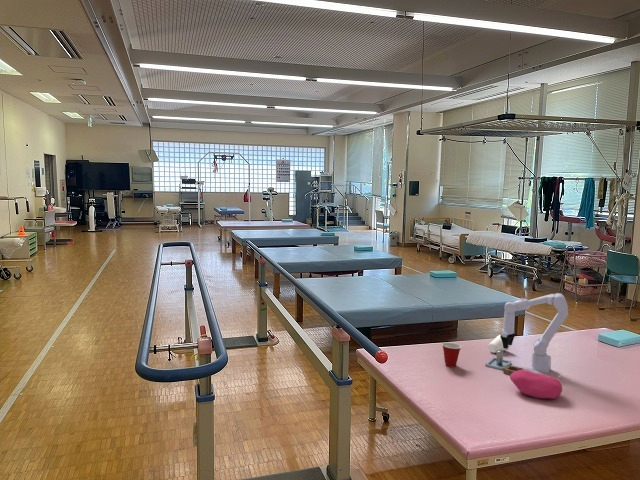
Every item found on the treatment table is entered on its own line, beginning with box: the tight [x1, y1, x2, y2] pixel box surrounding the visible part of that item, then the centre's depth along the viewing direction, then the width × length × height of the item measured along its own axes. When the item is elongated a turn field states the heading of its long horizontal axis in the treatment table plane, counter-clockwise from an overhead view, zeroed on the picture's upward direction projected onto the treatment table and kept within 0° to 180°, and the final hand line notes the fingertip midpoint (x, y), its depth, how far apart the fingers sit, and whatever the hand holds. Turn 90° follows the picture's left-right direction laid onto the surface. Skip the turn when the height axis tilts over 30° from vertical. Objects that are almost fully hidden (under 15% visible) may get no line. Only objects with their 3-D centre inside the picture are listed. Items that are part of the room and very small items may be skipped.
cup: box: [487, 334, 511, 354], centre depth 286 cm, size 10×10×11 cm
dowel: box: [495, 350, 504, 366], centre depth 263 cm, size 3×3×8 cm
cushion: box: [509, 369, 563, 400], centre depth 227 cm, size 23×19×10 cm
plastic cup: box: [441, 342, 462, 368], centre depth 263 cm, size 11×11×12 cm
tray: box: [485, 357, 512, 371], centre depth 263 cm, size 10×14×2 cm
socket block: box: [502, 364, 524, 376], centre depth 252 cm, size 8×8×3 cm
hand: (507, 346), depth 264 cm, fingers open, 7 cm apart
